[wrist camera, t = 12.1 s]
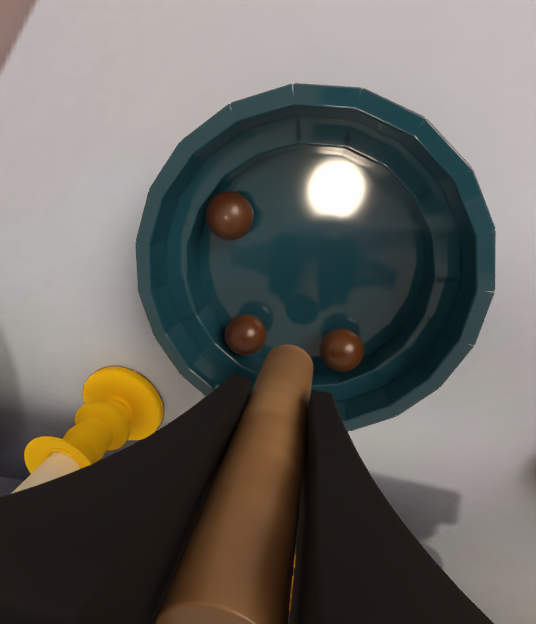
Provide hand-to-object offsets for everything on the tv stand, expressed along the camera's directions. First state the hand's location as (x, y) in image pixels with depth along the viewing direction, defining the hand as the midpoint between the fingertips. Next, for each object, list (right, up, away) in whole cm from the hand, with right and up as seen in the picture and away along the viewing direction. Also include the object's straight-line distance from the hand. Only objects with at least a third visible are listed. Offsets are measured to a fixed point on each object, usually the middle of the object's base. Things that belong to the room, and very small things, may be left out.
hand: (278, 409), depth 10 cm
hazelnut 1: (-2, +7, +3) cm, 8 cm away
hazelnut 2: (-1, +2, +5) cm, 6 cm away
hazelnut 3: (+3, +1, +5) cm, 6 cm away
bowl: (+1, +5, +5) cm, 7 cm away
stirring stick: (+1, +1, +3) cm, 3 cm away
